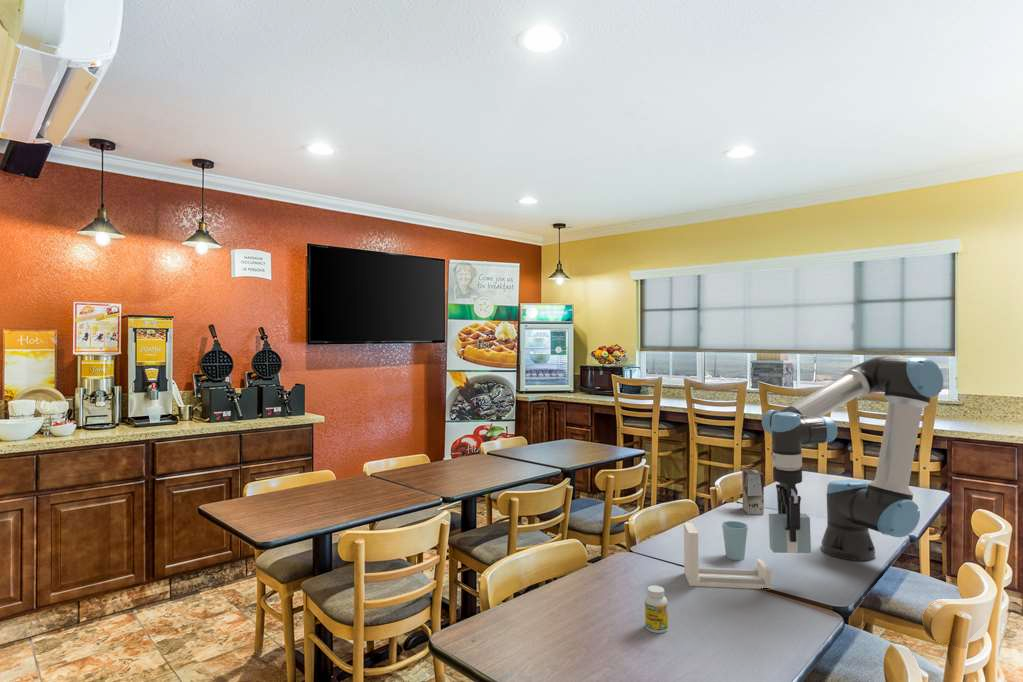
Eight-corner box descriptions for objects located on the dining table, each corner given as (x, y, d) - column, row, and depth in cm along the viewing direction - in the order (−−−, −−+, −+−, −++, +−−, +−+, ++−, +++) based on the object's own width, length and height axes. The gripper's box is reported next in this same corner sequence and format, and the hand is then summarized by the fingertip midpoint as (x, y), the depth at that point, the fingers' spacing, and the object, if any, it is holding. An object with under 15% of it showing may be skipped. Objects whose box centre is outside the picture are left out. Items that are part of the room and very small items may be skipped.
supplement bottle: (669, 624, 144) (668, 586, 144) (666, 635, 139) (666, 595, 139) (646, 621, 146) (646, 582, 146) (643, 631, 141) (643, 591, 141)
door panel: (806, 548, 168) (805, 513, 168) (811, 552, 164) (809, 517, 164) (769, 548, 169) (768, 513, 169) (773, 552, 166) (772, 517, 166)
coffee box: (764, 515, 230) (764, 474, 230) (747, 514, 231) (747, 473, 231) (758, 508, 239) (757, 468, 239) (741, 507, 240) (741, 468, 240)
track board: (761, 576, 172) (761, 525, 172) (771, 589, 163) (770, 535, 163) (684, 573, 175) (683, 522, 175) (689, 585, 166) (689, 532, 166)
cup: (753, 559, 185) (753, 526, 185) (735, 563, 182) (734, 529, 182) (735, 551, 192) (735, 519, 192) (717, 555, 189) (716, 523, 189)
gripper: (764, 461, 175) (767, 538, 176) (782, 474, 159) (785, 560, 159) (791, 460, 174) (793, 539, 175) (812, 474, 158) (814, 561, 158)
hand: (789, 549), depth 167 cm, fingers closed on door panel, 3 cm apart
